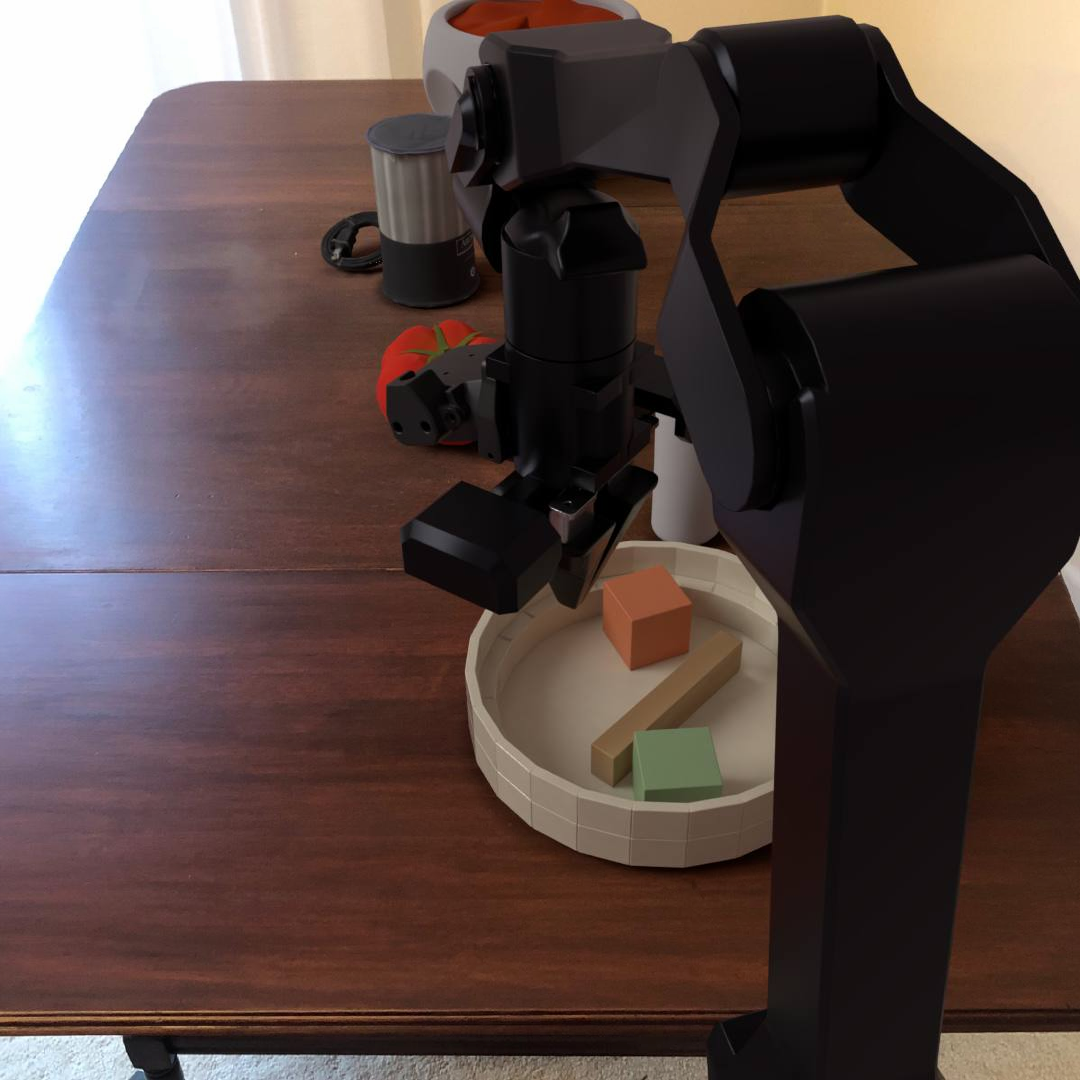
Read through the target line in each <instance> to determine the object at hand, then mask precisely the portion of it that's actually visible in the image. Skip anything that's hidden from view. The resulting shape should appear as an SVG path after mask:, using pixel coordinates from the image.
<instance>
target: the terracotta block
mask: <svg viewBox="0 0 1080 1080" xmlns="http://www.w3.org/2000/svg"><path fill="white" fill-rule="evenodd" d="M692 606H693V604H692V602H691V601H690V600H689V598H688V597H687V596H686V595H685V593H684V592H683V591H682V589H681V588H680V587H679V586H678V584H677V583H676V582H675V580H674V579H673V578H672V577H671V575H670V574H669V573H668V571H667V570H666V569H665V568H664V566H663V565H659V566H655V567H652V568H648V569H645V570H641V571H638V572H634V573H631V574H627V575H624V576H620V577H617V578H613V579H610V580H606V581H604V582H603V627H602V629H603V631H604V633H605V634H606V636H607V637H608V639H609V640H610V642H611V643H612V645H613V646H614V647H615V649H616V650H617V652H618V653H619V655H620V656H621V658H622V659H623V661H624V662H625V664H626V665H627V667H628V668H629V670H634V669H637V668H640V667H643V666H647V665H650V664H653V663H656V662H660V661H663V660H666V659H669V658H672V657H676V656H679V655H682V654H685V653H688V652H689V642H690V630H691V618H692Z"/></svg>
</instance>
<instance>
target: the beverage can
mask: <svg viewBox="0 0 1080 1080" xmlns="http://www.w3.org/2000/svg"><path fill="white" fill-rule="evenodd" d="M655 417H657V418H658V419H659V426H658V427H657V428H656V429H655V430H654V455H653V456H654V457H653V458H654V462H653V472H654V473H656V474H657V476H658V484H657V486H656V488H655V489H654V490H653V491H652V502H651V521H650V523H651V528H652V531H653V532H654V534H655V535H656V536H657V537H658V538H659V539H660V540H661V541H669V542H677V543H678V542H682V543H687V544H692V545H698V546H702V545H703V544H706V543H708V542H709V541H710V540H712V539H713V538H714V537H715V536H717V534H718V533H719V532H720V531H719V530H718V528H717V526H716V524H715V522H714V516H713V505H712V493H711V490H710V488H709V486H708V484H707V481H706V479H705V477H704V474H703V472H702V470H701V467H700V464H699V461H698V458H697V455H696V452H695V449H694V446H693V443H692V444H690V443H687V442H684V441H681V440H680V439H679V438H677V437H676V436H675V435H674V430H675V418H672V417H669V416H666V415H663V414H660V413H657V412H655Z"/></svg>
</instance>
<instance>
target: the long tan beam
mask: <svg viewBox="0 0 1080 1080" xmlns="http://www.w3.org/2000/svg"><path fill="white" fill-rule="evenodd" d="M742 646H743V641H741V640H740V639H738V638H736V637H734V636H732V635H730V634H728V633H727V632H725V631H723V630H720V631H719V632H718V633H717V634H715V635H714V636H713V637H712V638H711V639H710V640H709V641H708V642H706V643H705V644H704V645H703V646H702V647H701V648H700V649H698V650H697V651H696V652H695V653H694V654H693V655H692V656H691V657H689V658H688V659H687V660H686V661H685V662H684V663H683V664H681V665H680V666H679V667H678V668H677V669H676V670H675V671H674V672H672V673H671V674H670V675H669V676H668V677H667V678H666V679H664V680H663V681H662V682H661V683H660V684H659V685H658V686H657V687H655V688H654V689H653V690H652V691H651V692H650V693H649V694H647V695H646V696H645V697H644V698H643V699H642V700H641V701H640V702H638V703H637V704H636V705H635V706H634V707H633V708H632V709H630V710H629V711H628V712H627V713H626V714H625V715H624V716H623V717H621V718H620V719H619V720H618V721H617V722H616V723H615V724H613V725H612V726H611V727H610V728H609V729H608V730H607V731H605V732H604V733H603V734H602V735H601V736H600V737H599V738H598V739H596V740H595V741H594V742H593V743H592V744H591V774H592V775H594V776H596V777H597V778H599V779H600V780H602V781H603V782H605V783H606V784H608V785H609V786H611V787H612V788H614V787H615V786H616V785H617V784H618V783H619V782H620V781H621V780H622V779H623V778H624V777H625V776H627V775H628V774H629V773H630V772H631V771H632V760H633V739H634V731H646V730H662V729H677V728H678V727H679V726H680V725H681V724H682V723H684V722H685V721H686V720H687V719H688V718H689V717H690V716H691V715H692V714H693V713H694V712H695V711H696V710H698V709H699V708H700V707H701V706H702V705H703V704H704V703H705V702H706V701H707V700H708V699H709V698H710V697H712V696H713V695H714V694H715V693H716V692H717V691H718V690H719V689H720V688H721V687H722V686H723V685H724V684H726V683H727V682H728V681H729V680H730V679H731V678H732V677H733V676H734V675H735V674H736V673H737V672H738V671H739V670H740V663H741V655H742Z"/></svg>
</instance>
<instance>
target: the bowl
mask: <svg viewBox="0 0 1080 1080" xmlns="http://www.w3.org/2000/svg"><path fill="white" fill-rule="evenodd" d="M659 565H663V566H664V568H665V569H666V570H667V571H668V573H669V574H670V575H671V577H672V578H673V579H674V580H675V582H676V583H677V584H678V586H679V587H680V588H681V589H682V591H683V592H684V593H685V595H686V596H687V597H688V598H689V600H690V601H691V602H692V604H693V606H692V618H691V630H690V642H689V652H688V653H685V654H682V655H679V656H676V657H672V658H669V659H666V660H663V661H660V662H656V663H653V664H650V665H647V666H643V667H640V668H637V669H634V670H629V668H628V667H627V665H626V664H625V662H624V661H623V659H622V658H621V656H620V655H619V653H618V652H617V650H616V649H615V647H614V646H613V645H612V643H611V642H610V640H609V639H608V637H607V636H606V634H605V633H604V631H603V629H602V627H603V582H604V581H606V580H610V579H613V578H617V577H620V576H624V575H627V574H631V573H634V572H638V571H641V570H645V569H648V568H652V567H655V566H659ZM720 630H723V631H725V632H727V633H728V634H730V635H732V636H734V637H736V638H738V639H740V640H741V641H743V646H742V655H741V663H740V670H739V671H738V672H737V673H736V674H735V675H734V676H733V677H732V678H731V679H730V680H729V681H728V682H727V683H726V684H724V685H723V686H722V687H721V688H720V689H719V690H718V691H717V692H716V693H715V694H714V695H713V696H712V697H710V698H709V699H708V700H707V701H706V702H705V703H704V704H703V705H702V706H701V707H700V708H699V709H698V710H696V711H695V712H694V713H693V714H692V715H691V716H690V717H689V718H688V719H687V720H686V721H685V722H684V723H682V724H681V725H680V726H679V727H678V728H694V727H709V728H710V732H711V736H712V741H713V745H714V749H715V753H716V757H717V761H718V765H719V769H720V774H721V778H722V782H723V791H722V797H720V798H714V799H708V800H703V801H697V802H691V803H673V802H646V801H635V799H634V793H633V787H632V771H631V772H630V773H629V774H628V775H627V776H625V777H624V778H623V779H622V780H621V781H620V782H619V783H618V784H617V785H616V786H615V787H614V788H612V787H611V786H609V785H608V784H606V783H605V782H603V781H602V780H600V779H599V778H597V777H596V776H594V775H592V774H591V744H592V743H593V742H594V741H595V740H596V739H598V738H599V737H600V736H601V735H602V734H603V733H604V732H605V731H607V730H608V729H609V728H610V727H611V726H612V725H613V724H615V723H616V722H617V721H618V720H619V719H620V718H621V717H623V716H624V715H625V714H626V713H627V712H628V711H629V710H630V709H632V708H633V707H634V706H635V705H636V704H637V703H638V702H640V701H641V700H642V699H643V698H644V697H645V696H646V695H647V694H649V693H650V692H651V691H652V690H653V689H654V688H655V687H657V686H658V685H659V684H660V683H661V682H662V681H663V680H664V679H666V678H667V677H668V676H669V675H670V674H671V673H672V672H674V671H675V670H676V669H677V668H678V667H679V666H680V665H681V664H683V663H684V662H685V661H686V660H687V659H688V658H689V657H691V656H692V655H693V654H694V653H695V652H696V651H697V650H698V649H700V648H701V647H702V646H703V645H704V644H705V643H706V642H708V641H709V640H710V639H711V638H712V637H713V636H714V635H715V634H717V633H718V632H719V631H720ZM777 656H778V622H777V614H776V611H775V609H774V608H773V607H772V605H771V604H770V602H769V601H768V600H767V598H766V597H765V595H764V594H763V592H762V591H761V590H760V588H759V587H758V585H757V584H756V582H755V581H754V580H753V578H752V577H751V575H750V574H749V572H748V571H747V570H746V568H745V567H744V565H743V564H742V562H741V561H740V560H739V558H738V557H737V555H736V554H735V553H734V554H733V553H732V552H729V551H726V550H722V549H719V548H713V547H708V546H703V545H692V544H687V543H682V542H678V543H677V542H669V541H663V540H626V541H620V542H619V544H618V545H617V547H616V549H615V550H614V552H613V553H612V555H611V557H610V558H609V560H608V562H607V563H606V565H605V567H604V568H603V570H602V572H601V573H600V575H599V577H598V578H597V580H596V582H595V583H594V585H593V587H592V588H591V590H590V592H589V594H588V595H587V597H586V599H585V600H584V601H583V602H582V603H581V604H580V605H579V606H578V608H577V609H571V608H569V607H566V606H564V605H562V604H560V603H559V602H558V601H557V599H556V597H555V595H554V593H553V591H552V589H551V587H550V585H549V583H548V584H547V585H546V586H545V587H543V588H542V589H541V590H540V591H539V592H538V593H537V594H536V595H535V596H534V597H533V598H532V599H531V600H530V601H529V602H528V603H527V604H526V605H525V606H524V607H523V608H522V609H521V610H520V611H519V612H518V613H510V614H503V615H498V614H496V613H493V612H491V611H489V610H487V609H484V611H483V613H482V615H481V617H480V619H479V620H478V622H477V624H476V625H475V627H474V629H473V631H472V633H471V634H470V636H469V642H468V648H467V655H466V660H465V666H464V681H465V693H466V706H467V719H468V728H469V733H470V738H471V743H472V748H473V753H474V756H475V761H476V764H477V765H478V767H479V768H480V770H481V772H482V773H483V775H484V777H485V778H486V780H487V782H488V783H489V785H490V787H491V788H492V790H493V791H494V793H495V795H496V797H497V798H498V799H500V801H502V802H503V803H504V804H505V805H506V806H507V807H508V808H509V809H510V810H511V811H513V812H514V813H515V814H516V815H517V816H518V817H519V818H520V819H521V820H522V821H524V822H525V823H526V824H527V825H528V826H529V827H530V828H532V829H533V830H535V831H537V832H539V833H541V834H543V835H545V836H547V837H548V838H550V839H553V840H554V841H556V842H557V843H560V844H562V845H564V846H566V847H568V848H570V849H571V850H574V851H575V852H578V853H581V854H584V855H587V856H592V857H596V858H600V859H604V860H607V861H611V862H615V863H618V864H619V863H620V864H622V865H626V866H631V867H655V868H681V869H682V868H683V869H684V868H690V867H697V866H701V865H707V864H712V863H718V862H723V861H729V860H734V859H737V858H740V857H743V856H744V855H747V854H750V853H752V852H754V851H756V850H759V849H760V848H762V847H765V846H767V845H769V844H772V827H773V793H774V759H775V724H776V690H777ZM678 728H677V729H678Z"/></svg>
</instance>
